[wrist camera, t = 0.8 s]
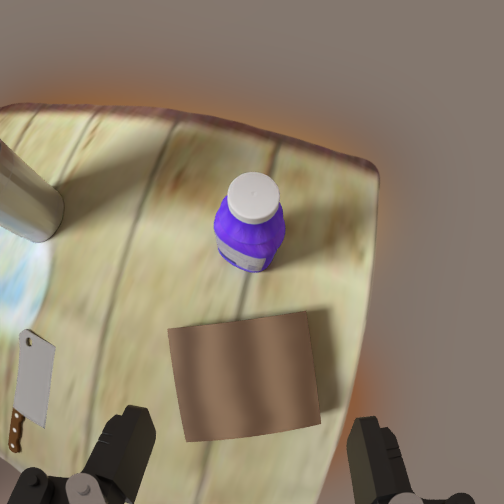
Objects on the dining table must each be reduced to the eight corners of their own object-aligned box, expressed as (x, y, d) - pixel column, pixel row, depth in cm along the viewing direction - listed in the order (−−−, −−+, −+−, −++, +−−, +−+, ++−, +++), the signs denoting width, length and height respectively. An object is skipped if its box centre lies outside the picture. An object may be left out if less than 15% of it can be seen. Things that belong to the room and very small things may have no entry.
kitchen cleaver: (42, 474, 29) (-1, 441, 29) (45, 472, 30) (2, 440, 30) (70, 354, 35) (22, 322, 35) (73, 354, 36) (26, 322, 36)
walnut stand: (191, 431, 33) (186, 442, 30) (174, 328, 37) (167, 328, 33) (313, 415, 35) (321, 423, 31) (299, 312, 38) (306, 310, 34)
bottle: (281, 244, 40) (310, 185, 23) (261, 282, 39) (278, 246, 22) (233, 219, 41) (229, 146, 24) (211, 256, 39) (192, 202, 22)
